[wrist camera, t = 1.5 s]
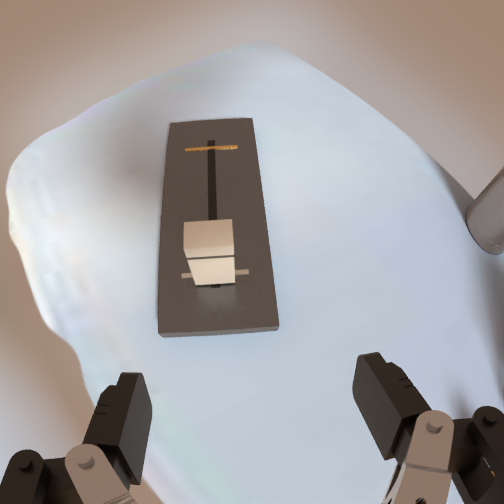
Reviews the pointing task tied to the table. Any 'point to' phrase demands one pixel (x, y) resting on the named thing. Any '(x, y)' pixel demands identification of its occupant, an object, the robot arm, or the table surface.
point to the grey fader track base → (215, 208)
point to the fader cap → (210, 251)
